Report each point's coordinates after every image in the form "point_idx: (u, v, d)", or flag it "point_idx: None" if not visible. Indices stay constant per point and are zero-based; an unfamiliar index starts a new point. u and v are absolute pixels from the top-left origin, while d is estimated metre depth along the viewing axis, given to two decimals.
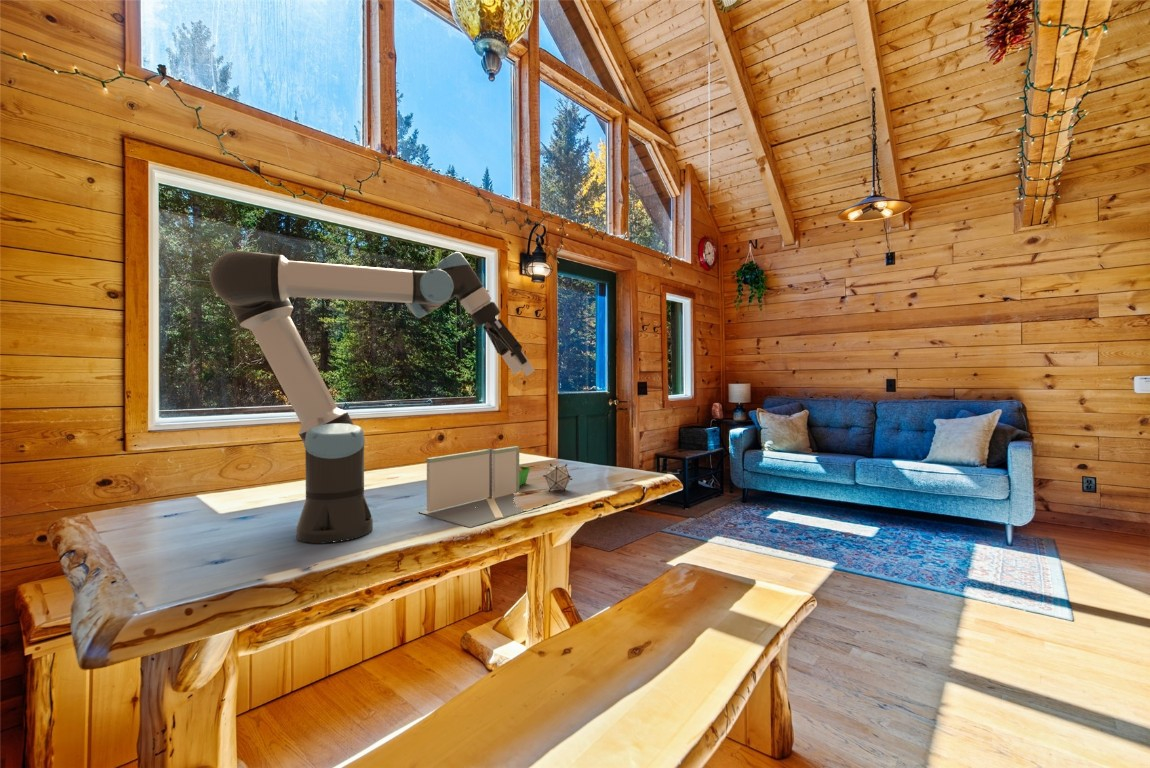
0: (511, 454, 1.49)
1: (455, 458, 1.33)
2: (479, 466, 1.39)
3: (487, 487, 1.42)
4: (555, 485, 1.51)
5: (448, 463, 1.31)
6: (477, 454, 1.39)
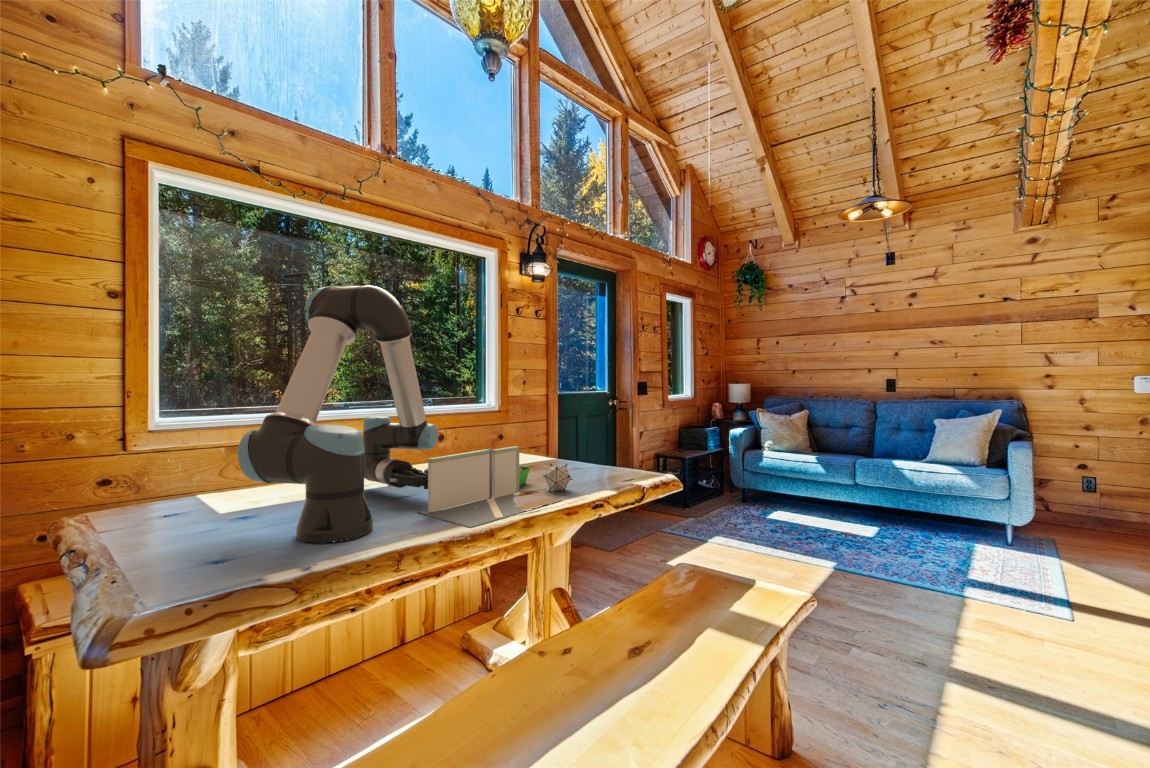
0: (511, 454, 1.49)
1: (456, 458, 1.33)
2: (479, 466, 1.39)
3: (487, 487, 1.42)
4: (555, 485, 1.51)
5: (449, 463, 1.31)
6: (477, 454, 1.39)
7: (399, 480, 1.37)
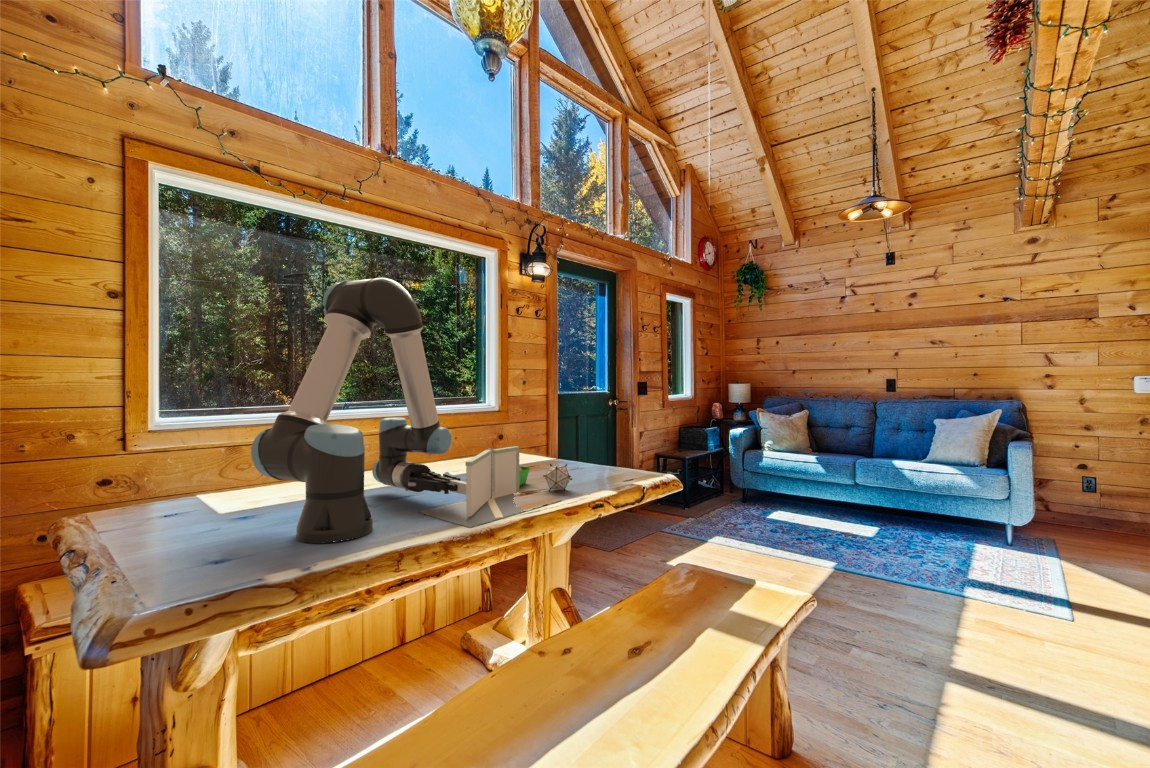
0: (511, 454, 1.49)
1: (480, 460, 1.31)
2: (487, 466, 1.39)
3: (490, 487, 1.42)
4: (555, 485, 1.51)
5: (477, 465, 1.29)
6: (487, 454, 1.38)
7: (418, 484, 1.31)
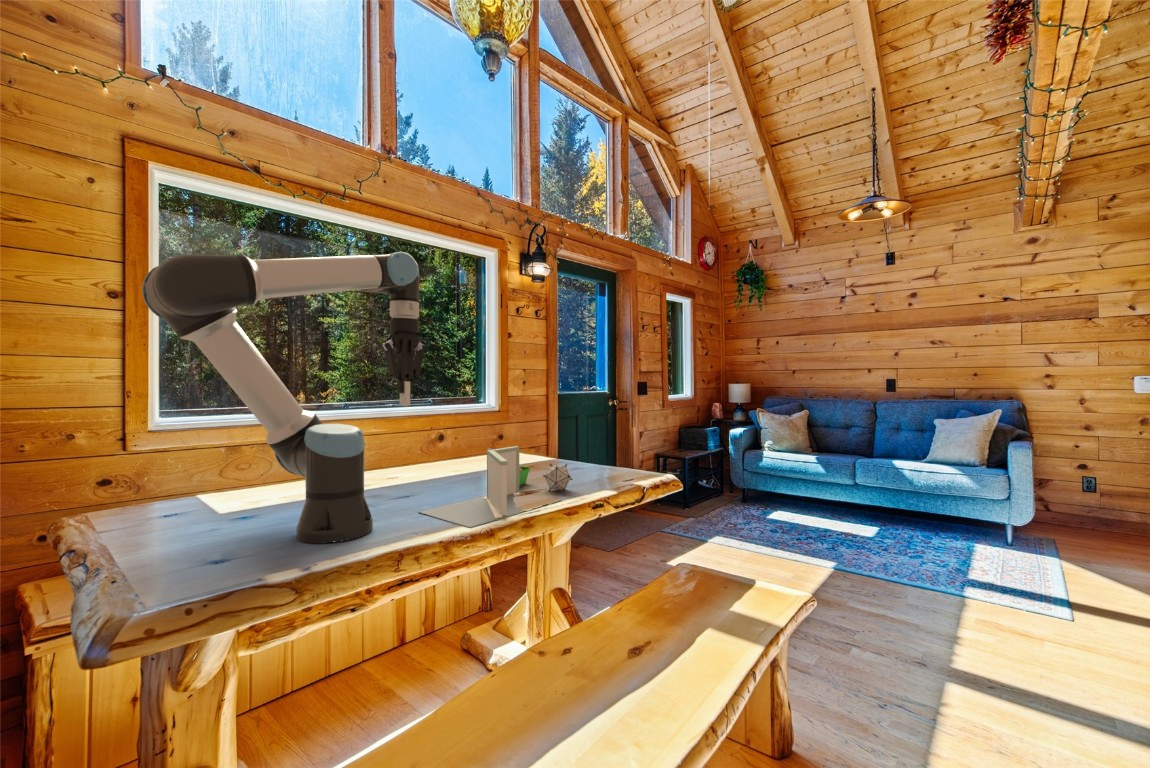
0: (511, 454, 1.49)
1: None
2: None
3: None
4: (555, 485, 1.51)
5: None
6: None
7: None
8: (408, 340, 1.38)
